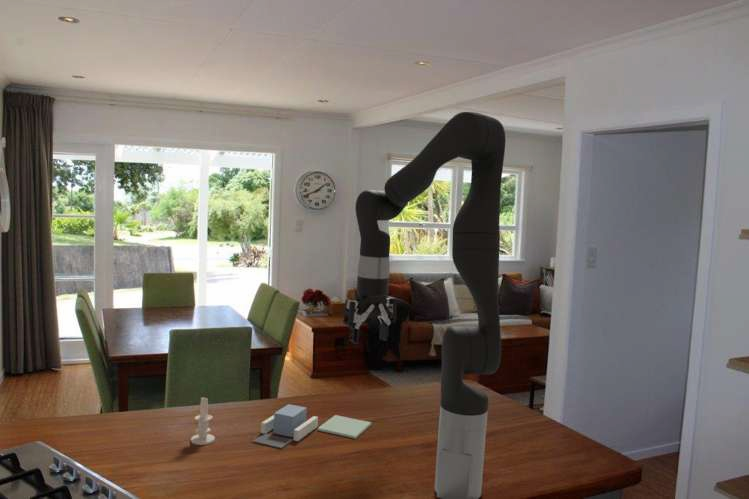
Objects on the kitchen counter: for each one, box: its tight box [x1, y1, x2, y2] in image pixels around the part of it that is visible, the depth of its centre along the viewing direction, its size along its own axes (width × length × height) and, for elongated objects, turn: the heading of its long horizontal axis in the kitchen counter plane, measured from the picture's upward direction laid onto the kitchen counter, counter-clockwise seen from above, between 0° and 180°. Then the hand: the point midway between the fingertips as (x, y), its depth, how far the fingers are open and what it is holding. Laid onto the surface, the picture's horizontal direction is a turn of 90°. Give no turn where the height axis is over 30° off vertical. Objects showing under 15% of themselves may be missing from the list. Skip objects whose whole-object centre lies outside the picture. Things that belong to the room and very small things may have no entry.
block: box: [273, 403, 307, 438], centre depth 147 cm, size 7×5×5 cm
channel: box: [252, 414, 319, 450], centre depth 144 cm, size 16×10×2 cm, turn 159°
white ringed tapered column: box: [190, 395, 216, 446], centre depth 137 cm, size 5×5×10 cm
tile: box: [317, 414, 372, 440], centre depth 150 cm, size 10×10×1 cm
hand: (369, 341), depth 146 cm, fingers open, 8 cm apart
